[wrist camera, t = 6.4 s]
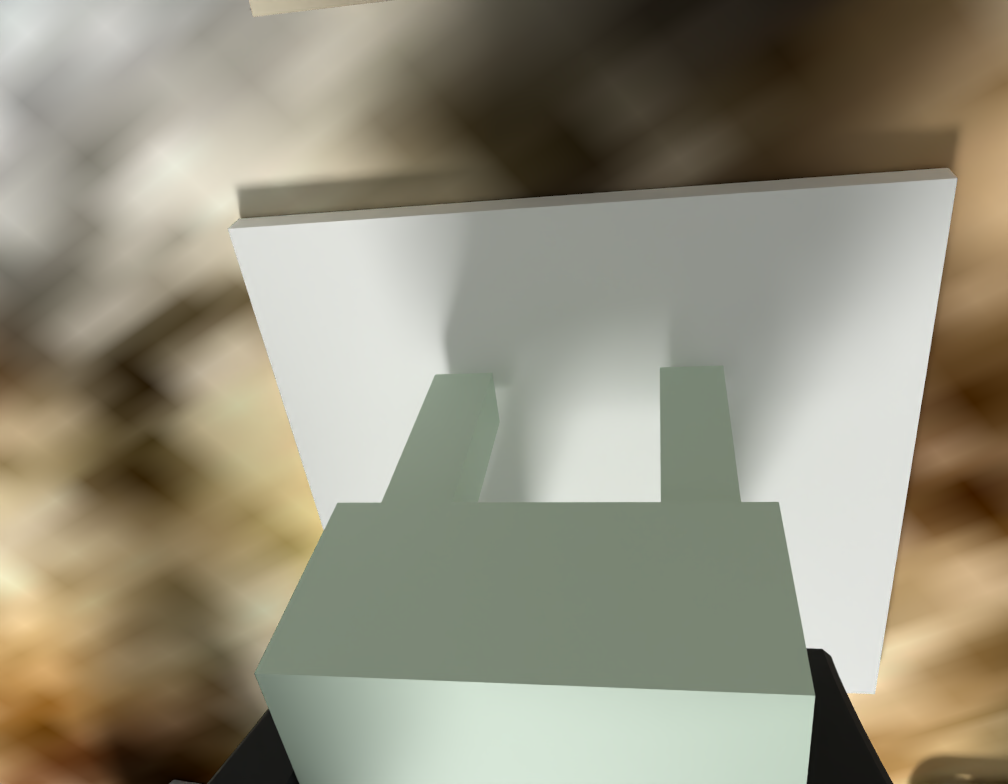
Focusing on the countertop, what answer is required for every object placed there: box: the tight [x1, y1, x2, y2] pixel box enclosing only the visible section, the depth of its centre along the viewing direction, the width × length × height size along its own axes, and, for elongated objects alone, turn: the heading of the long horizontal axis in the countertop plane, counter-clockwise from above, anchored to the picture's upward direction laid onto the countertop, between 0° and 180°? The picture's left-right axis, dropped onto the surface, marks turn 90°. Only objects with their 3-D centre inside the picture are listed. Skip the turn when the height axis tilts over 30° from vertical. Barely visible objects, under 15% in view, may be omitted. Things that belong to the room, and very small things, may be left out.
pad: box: [228, 168, 957, 694], centre depth 15 cm, size 10×10×1 cm
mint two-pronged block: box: [254, 365, 815, 784], centre depth 11 cm, size 5×5×6 cm
